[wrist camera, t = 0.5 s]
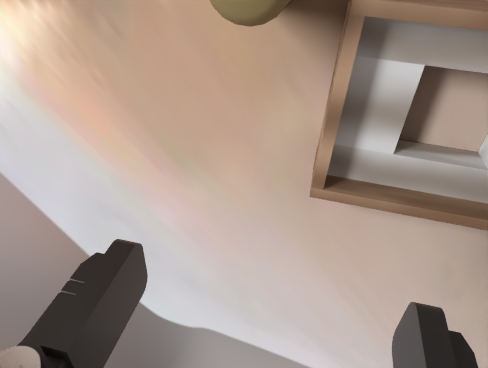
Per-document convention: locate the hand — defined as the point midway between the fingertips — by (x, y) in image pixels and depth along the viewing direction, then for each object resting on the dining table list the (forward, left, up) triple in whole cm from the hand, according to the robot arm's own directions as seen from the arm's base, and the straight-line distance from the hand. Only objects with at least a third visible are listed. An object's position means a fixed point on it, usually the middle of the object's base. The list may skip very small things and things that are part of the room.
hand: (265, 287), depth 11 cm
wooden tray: (+3, +12, -25) cm, 28 cm away
